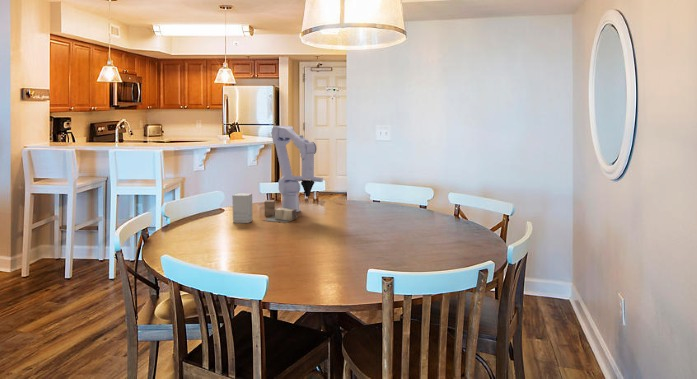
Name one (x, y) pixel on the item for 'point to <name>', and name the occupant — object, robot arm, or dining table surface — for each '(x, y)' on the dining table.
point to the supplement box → (242, 208)
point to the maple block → (285, 214)
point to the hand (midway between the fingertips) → (307, 196)
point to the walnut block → (269, 207)
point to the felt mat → (276, 219)
